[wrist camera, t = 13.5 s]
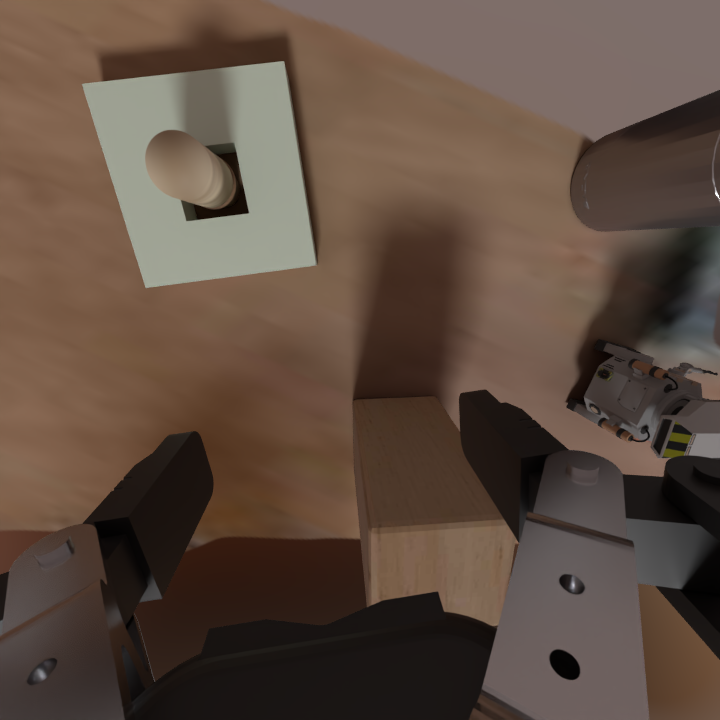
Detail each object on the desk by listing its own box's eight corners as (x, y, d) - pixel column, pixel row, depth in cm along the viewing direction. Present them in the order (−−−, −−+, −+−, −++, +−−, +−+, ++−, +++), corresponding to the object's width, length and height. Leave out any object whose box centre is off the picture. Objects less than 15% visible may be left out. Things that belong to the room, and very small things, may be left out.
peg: (239, 159, 33) (201, 125, 23) (249, 209, 34) (217, 195, 25) (192, 165, 33) (135, 132, 23) (204, 215, 34) (155, 203, 25)
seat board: (288, 77, 31) (283, 61, 28) (317, 263, 36) (316, 265, 33) (105, 98, 31) (81, 84, 28) (160, 284, 36) (145, 287, 33)
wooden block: (353, 470, 44) (369, 640, 25) (352, 397, 41) (369, 528, 22) (432, 466, 45) (504, 628, 26) (436, 394, 42) (522, 518, 23)
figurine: (631, 421, 45) (769, 503, 31) (553, 403, 43) (661, 480, 29) (668, 356, 43) (836, 411, 28) (585, 333, 41) (721, 380, 27)
